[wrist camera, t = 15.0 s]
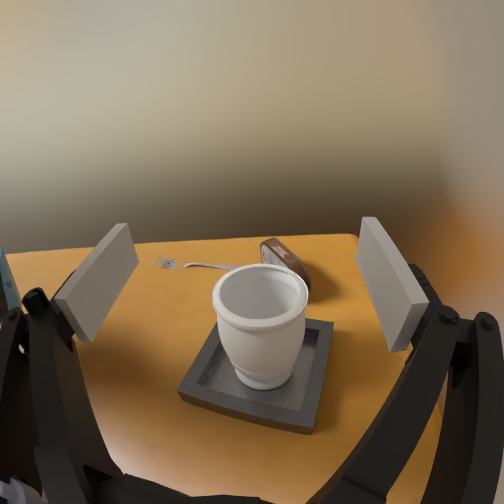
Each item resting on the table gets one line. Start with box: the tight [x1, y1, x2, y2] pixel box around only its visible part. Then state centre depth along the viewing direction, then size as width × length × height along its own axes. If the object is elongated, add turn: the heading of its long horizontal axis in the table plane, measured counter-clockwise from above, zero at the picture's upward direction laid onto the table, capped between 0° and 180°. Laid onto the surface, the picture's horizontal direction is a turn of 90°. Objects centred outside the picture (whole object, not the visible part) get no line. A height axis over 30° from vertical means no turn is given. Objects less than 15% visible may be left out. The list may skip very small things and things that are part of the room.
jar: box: [212, 264, 308, 390], centre depth 33 cm, size 11×10×15 cm
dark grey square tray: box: [177, 318, 334, 435], centre depth 37 cm, size 18×18×3 cm
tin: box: [260, 237, 311, 294], centre depth 52 cm, size 15×3×8 cm, turn 25°
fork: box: [155, 257, 242, 270], centre depth 61 cm, size 3×24×2 cm, turn 81°
